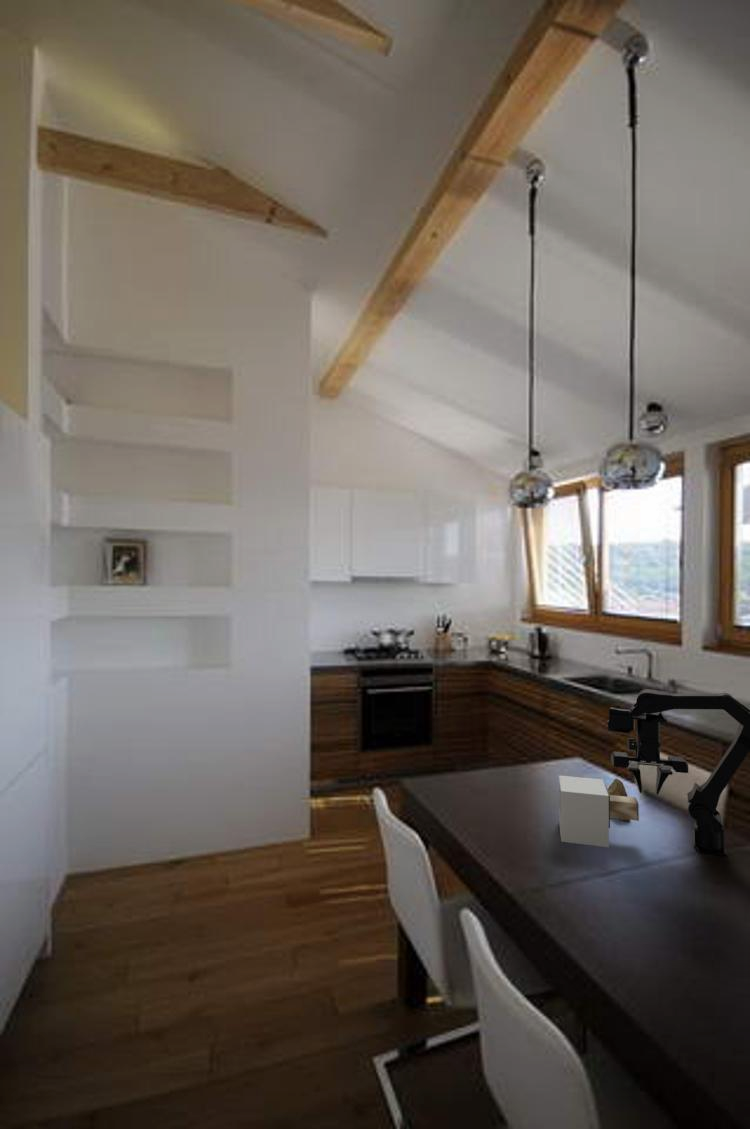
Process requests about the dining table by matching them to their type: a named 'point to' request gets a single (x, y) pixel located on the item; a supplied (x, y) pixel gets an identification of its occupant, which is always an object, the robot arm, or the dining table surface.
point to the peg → (624, 807)
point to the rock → (617, 790)
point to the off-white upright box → (584, 811)
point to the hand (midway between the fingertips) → (648, 793)
